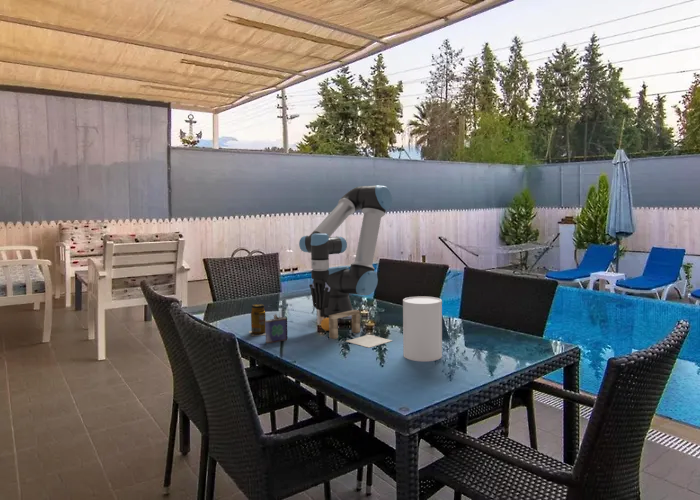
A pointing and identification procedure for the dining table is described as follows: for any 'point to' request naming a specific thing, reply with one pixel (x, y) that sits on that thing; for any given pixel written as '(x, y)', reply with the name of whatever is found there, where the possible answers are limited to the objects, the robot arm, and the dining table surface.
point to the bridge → (333, 318)
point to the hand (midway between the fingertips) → (320, 323)
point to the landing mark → (368, 341)
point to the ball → (325, 324)
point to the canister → (422, 328)
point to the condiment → (258, 320)
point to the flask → (276, 329)
